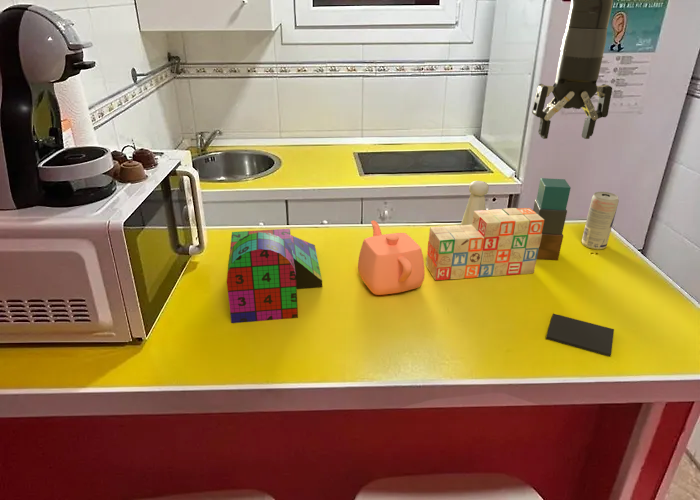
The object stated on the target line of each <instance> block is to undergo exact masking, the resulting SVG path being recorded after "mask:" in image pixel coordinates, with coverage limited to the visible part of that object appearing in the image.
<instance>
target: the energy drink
mask: <svg viewBox="0 0 700 500" xmlns="http://www.w3.org/2000/svg"><path fill="white" fill-rule="evenodd" d="M618 206H619V196H618V195H617V194H615V193H612V192H608V191H596V192H594V193H593V195H592V196H591V200H590V204H589V209H588V212H587V216H586V221H585V226H584V230H583V234H582V236H581V243H582V246H584V247H586V248H588V249H590V250H591V249H592V250H597V251H598V250H599V251H600V250H604V249H606V248H607V247H608V243H609V239H610V235H611V232H612V227H613V225H614V220H615V217H616V213H617V209H618Z"/></svg>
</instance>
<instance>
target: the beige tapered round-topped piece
mask: <svg viewBox="0 0 700 500" xmlns="http://www.w3.org/2000/svg"><path fill="white" fill-rule="evenodd" d="M468 192H469V193H470V195H469V198H468V202H467V204H466V207H465V211H464V213H463V217H462V219H461V223H460V225H472V220H473V214H474V211H481V210H486V197H485V195H487V194H488V192H489V184H488V183H487V182H486V181H482V180H474V181H471V182H470V183H469V186H468Z"/></svg>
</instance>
